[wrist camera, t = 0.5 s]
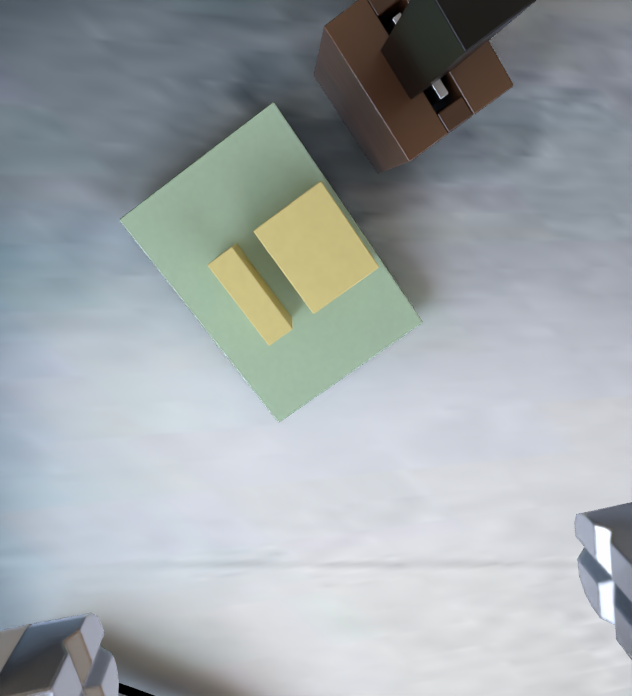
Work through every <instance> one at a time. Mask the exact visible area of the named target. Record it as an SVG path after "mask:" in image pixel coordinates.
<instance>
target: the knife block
mask: <svg viewBox="0 0 632 696" xmlns="http://www.w3.org/2000/svg"><path fill="white" fill-rule="evenodd" d="M409 1H410V0H358V1H356V2H355V3H354V4H352V5H351V6H350V7H348V8H347V9H346V10H345V11H343V12H342V13H341V14H339V15H338V16H337V17H336V18H334V19H333V20H332V21H330V22H329V23H328V24H326V25H325V26H324V29H323V34H322V39H321V43H320V48H319V53H318V57H317V62H316V67H315V71H314V77H315V78H316V80H317V81H318V83H319V84H320V86H321V87H322V89H323V91H324V92H325V94H326V95H327V97H328V98H329V100H330V101H331V103H332V104H333V106H334V107H335V109H336V110H337V112H338V114H339V115H340V117H341V118H342V120H343V121H344V123H345V124H346V126H347V127H348V129H349V130H350V132H351V134H352V135H353V137H354V138H355V140H356V141H357V143H358V144H359V146H360V147H361V149H362V150H363V152H364V153H365V155H366V157H367V158H368V160H369V161H370V163H371V164H372V166H373V167H374V169H375V170H376V172H377V173H378V174H379V173H382V172H384V171H387V170H389V169H392V168H395V167H397V166H400V165H402V164H405V163H408V162H410V161H412V160H413V159H414V158H416V157H417V156H418V155H420V154H421V153H423V152H424V151H425V150H427V149H428V148H429V147H431V146H432V145H434V144H435V143H436V142H438V141H439V140H440V139H442V138H443V137H445V136H446V135H447V134H448V133H450V132H451V131H453V130H454V129H455V128H457V127H458V126H459V125H461V124H462V123H464V122H465V121H466V120H468V119H469V118H470V117H472V115H474V114H476V113H477V112H479V111H480V110H481V109H483V108H484V107H486V106H487V105H488V104H490V103H491V102H492V101H494V100H495V99H496V98H498V97H499V96H501V95H502V94H503V93H505V92H506V91H507V90H509V89H510V88H512V87H513V83H512V81H511V80H510V78H509V76H508V74H507V73H506V71H505V69H504V67H503V66H502V64H501V62H500V60H499V59H498V57H497V55H496V53H495V51H494V50H493V48H492V46H491V44H490V43H489V41H487V42H486V43H485V44H483V45H482V46H481V47H480V48H479V49H477V50H476V51H475V52H474V53H473V54H471V55H470V56H469V57H468V58H467V59H465V60H464V61H463V62H462V63H461V64H459V65H458V66H457V67H455V68H454V69H453V70H451V71H450V72H449V73H447V74H446V75H444V76H443V77H442V78H440V80H441V81H442V83H443V85H444V86H445V88H446V90H447V91H448V95H446V96H445V97H443V98H442V99H441V100H439V101H438V102H437V103H435V104H434V105H432V106H431V104H430V102H429V101H428V99H427V97H426V96H425V94H424V92H422V93H420V94H419V95H418V96H416V97H415V98H414V99H410V98H409V96H408V95H407V93H406V91H405V90H404V88H403V86H402V85H401V83H400V82H399V80H398V78H397V77H396V75H395V73H394V72H393V70H392V69H391V67H390V65H389V64H388V62H387V60H386V59H385V57H384V56H383V54H382V52H381V48H382V47H383V45H384V43H385V42H386V40H387V38H388V37H389V35H388V33H387V31H386V29H387V27H388V25H389V23H390V22H391V20H392V18H393V17H394V16H396V15H397V14H398V13H401V14H402V13H403V11H404V10H405V8H406V6H407V5H408V3H409Z"/></svg>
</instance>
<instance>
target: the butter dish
mask: <svg viewBox="0 0 632 696" xmlns="http://www.w3.org/2000/svg"><path fill="white" fill-rule="evenodd" d="M320 181H321V182H322V183H323V184H324V186H325V187H326V189H327V190H328V192H329V193H330V195H331V196H332V198H333V199H334V200H335V202H336V203H337V205H338V206H339V208H340V209H341V211H342V212H343V214H344V215H345V217H346V218H347V220H348V221H349V223H350V224H351V225H352V227H353V228H354V230H355V231H356V233H357V234H358V236H359V237H360V239H361V240H362V242H363V243H364V245H365V246H366V248H367V249H368V250H369V252H370V253H371V255H372V256H373V258H374V259H375V261H376V262H377V264H378V265H379V268H378V269H376V270H375V271H374V272H372V273H371V274H369V275H368V276H367V277H365V278H364V279H362V280H361V281H360V282H358V283H357V284H355V285H354V286H353V287H351V288H350V289H348V290H347V291H346V292H344V293H343V294H341V295H340V296H339V297H337V298H336V299H334V300H333V301H332V302H330V303H329V304H327V305H326V306H325V307H323V308H322V309H320V310H319V311H318V312H316V313H315V314H313V313H312V312H311V310H310V309H309V307H308V306H307V305H306V303H305V302H304V301H303V299H302V298H301V296H300V295H299V294H298V292H297V291H296V290H295V288H294V287H293V285H292V284H291V283H290V281H289V280H288V279H287V277H286V276H285V275H284V273H283V272H282V270H281V269H280V268H279V266H278V265H277V264H276V262H275V261H274V259H273V258H272V257H271V255H270V254H269V253H268V251H267V250H266V248H265V247H264V246H263V244H262V243H261V242H260V240H259V239H258V237H257V236H256V235H255V233H254V230H255V229H256V228H257V227H259V226H260V225H262V224H263V223H264V222H266V221H267V220H268V219H270V218H271V217H272V216H274V215H275V214H276V213H278V212H279V211H280V210H282V209H283V208H284V207H286V206H287V205H289V204H290V203H291V202H293V201H294V200H295V199H297V198H298V197H299V196H301V195H302V194H303V193H305V192H306V191H307V190H309V189H310V188H312V187H313V186H314V185H316V184H317V183H318V182H320ZM120 222H121V223H122V224H123V226H124V227H125V228H126V230H127V231H128V232H129V233H130V235H131V236H132V237H133V238H134V240H135V241H136V242H137V244H138V245H139V246H140V247H141V249H142V250H143V251H144V252H145V254H146V255H147V256H148V257H149V259H150V260H151V261H152V263H153V264H154V265H155V266H156V268H157V269H158V270H159V271H160V273H161V274H162V275H163V277H164V278H165V279H166V280H167V282H168V283H169V284H170V285H171V287H172V288H173V289H174V291H175V292H176V293H177V294H178V296H179V297H180V298H181V299H182V301H183V302H184V303H185V304H186V306H187V307H188V308H189V310H190V311H191V312H192V313H193V315H194V316H195V317H196V318H197V320H198V321H199V322H200V324H201V325H202V326H203V327H204V329H205V330H206V331H207V332H208V334H209V335H210V336H211V337H212V339H213V340H214V341H215V343H216V344H217V345H218V346H219V348H220V349H221V350H222V351H223V353H224V354H225V355H226V357H227V358H228V359H229V360H230V362H231V363H232V364H233V365H234V367H235V368H236V369H237V371H238V372H239V373H240V374H241V376H242V377H243V378H244V379H245V381H246V382H247V383H248V384H249V386H250V387H251V388H252V390H253V391H254V392H255V393H256V395H257V396H258V397H259V398H260V400H261V401H262V402H263V404H264V405H265V406H266V407H267V409H268V410H269V411H270V412H271V414H272V415H273V416H274V418H275V419H276V420H277V421H278V422H281V421H282V420H284V419H285V418H286V417H288V416H289V415H291V414H292V413H294V412H295V411H296V410H298V409H299V408H301V407H302V406H304V405H305V404H307V403H308V402H309V401H311V400H312V399H314V398H315V397H317V396H318V395H319V394H321V393H322V392H324V391H325V390H327V389H328V388H330V387H331V386H332V385H334V384H335V383H337V382H338V381H340V380H341V379H342V378H344V377H345V376H347V375H348V374H350V373H351V372H353V371H354V370H355V369H357V368H358V367H360V366H361V365H363V364H364V363H365V362H367V361H368V360H370V359H371V358H373V357H374V356H376V355H377V354H378V353H380V352H381V351H383V350H384V349H386V348H387V347H388V346H390V345H391V344H393V343H394V342H396V341H397V340H398V339H400V338H401V337H403V336H404V335H406V334H407V333H409V332H410V331H411V330H413V329H414V328H416V327H417V326H419V325H420V324H421V323H423V321H422V320H421V318H420V317H419V315H418V314H417V312H416V311H415V310H414V308H413V307H412V305H411V304H410V302H409V301H408V299H407V298H406V296H405V295H404V293H403V292H402V290H401V289H400V287H399V286H398V284H397V283H396V281H395V280H394V278H393V277H392V276H391V274H390V273H389V271H388V270H387V268H386V267H385V265H384V264H383V262H382V261H381V259H380V258H379V256H378V255H377V253H376V252H375V250H374V249H373V247H372V246H371V245H370V243H369V242H368V240H367V239H366V237H365V236H364V234H363V233H362V231H361V230H360V228H359V227H358V225H357V224H356V222H355V221H354V219H353V218H352V216H351V215H350V213H349V212H348V211H347V209H346V208H345V206H344V205H343V203H342V202H341V200H340V199H339V197H338V196H337V194H336V193H335V191H334V190H333V188H332V187H331V185H330V184H329V182H328V181H327V180H326V178H325V177H324V175H323V174H322V172H321V171H320V169H319V168H318V166H317V165H316V163H315V162H314V160H313V159H312V157H311V156H310V154H309V153H308V151H307V150H306V148H305V147H304V146H303V144H302V143H301V141H300V140H299V138H298V137H297V135H296V134H295V132H294V131H293V129H292V128H291V126H290V125H289V123H288V122H287V120H286V119H285V117H284V116H283V115H282V113H281V112H280V110H279V109H278V107H277V106H276V104H275V103H274V102H273V103H271V104H270V105H269V106H267V107H266V108H265V109H263V110H262V111H261V112H260V113H258V114H257V115H256V116H254V117H253V118H252V119H250V120H249V121H248V122H246V123H245V124H244V125H242V126H241V127H240V128H239V129H237V130H236V131H235V132H233V133H232V134H231V135H229V136H228V137H227V138H225V139H224V140H223V141H222V142H220V143H219V144H218V145H216V146H215V147H214V148H212V149H211V150H210V151H208V152H207V153H206V154H205V155H203V156H202V157H201V158H199V159H198V160H197V161H195V162H194V163H193V164H191V165H190V166H189V167H187V168H186V169H185V170H184V171H182V172H181V173H180V174H178V175H177V176H176V177H174V178H173V179H172V180H170V181H169V182H168V183H167V184H165V185H164V186H163V187H161V188H160V189H159V190H157V191H156V192H155V193H153V194H152V195H151V196H149V197H148V198H147V199H146V200H144V201H143V202H142V203H140V204H139V205H138V206H136V207H135V208H134V209H132V210H131V211H130V212H129V213H127V214H126V215H125V216H123V217H122V218H121V219H120ZM235 244H238V245H239V247H240V248H241V249H242V251H243V252H244V253H245V255H246V256H247V257H248V259H249V260H250V262H251V263H252V264H253V266H254V267H255V268H256V270H257V271H258V272H259V274H260V275H261V276H262V278H263V279H264V280H265V282H266V283H267V285H268V286H269V287H270V289H271V290H272V291H273V293H274V294H275V295H276V297H277V298H278V299H279V301H280V302H281V303H282V305H283V306H284V307H285V309H286V310H287V312H288V313H289V314H290V316H291V317H292V325H293V329H292V330H291V331H290V332H288V333H287V334H285V335H284V336H283V337H281V338H280V339H278V340H277V341H276V342H274V343H273V344H271V345H270V346H269V345H268V344H267V343H266V342H265V340H264V339H263V338H262V336H261V335H260V334H259V332H258V331H257V330H256V329H255V327H254V326H253V325H252V323H251V322H250V321H249V319H248V318H247V317H246V315H245V314H244V313H243V311H242V310H241V309H240V308H239V306H238V305H237V304H236V302H235V301H234V300H233V298H232V297H231V296H230V294H229V293H228V292H227V290H226V289H225V288H224V287H223V285H222V284H221V283H220V281H219V280H218V279H217V277H216V276H215V275H214V273H213V272H212V271H211V269H210V268H209V267H208V264H209V263H210V262H211V261H213V260H214V259H216V258H217V257H218V256H220V255H221V254H222V253H224V252H225V251H226V250H228V249H229V248H230V247H232V246H233V245H235Z"/></svg>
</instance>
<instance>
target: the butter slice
mask: <svg viewBox="0 0 632 696" xmlns="http://www.w3.org/2000/svg"><path fill="white" fill-rule="evenodd" d="M208 267H209V268H210V269H211V271H212V272H213V273H214V275H215V276H216V277H217V279H218V280H219V281H220V283H221V284H222V285H223V287H224V288H225V289H226V290H227V292H228V293H229V294H230V296H231V297H232V298H233V300H234V301H235V302H236V304H237V305H238V306H239V308H240V309H241V310H242V311H243V313H244V314H245V315H246V317H247V318H248V319H249V321H250V322H251V323H252V325H253V326H254V327H255V329H256V330H257V331H258V332H259V334H260V335H261V336H262V338H263V339H264V340H265V342H266V343H267V344H268V345H269V346H270V345H271V344H273V343H274V342H276V341H277V340H278V339H280V338H281V337H283V336H284V335H285V334H287V333H288V332H290V331H291V330H292V329H293V325H292V317H291V316H290V314H289V313H288V312H287V310H286V309H285V307H284V306H283V305H282V303H281V302H280V301H279V299H278V298H277V297H276V295H275V294H274V293H273V291H272V290H271V289H270V287H269V286H268V285H267V283H266V282H265V280H264V279H263V278H262V276H261V275H260V274H259V272H258V271H257V270H256V268H255V267H254V266H253V264H252V263H251V262H250V260H249V259H248V257H247V256H246V255H245V253H244V252H243V251H242V249H241V248H240V247H239V245H238V244H235V245H233V246H232V247H230V248H229V249H228V250H226V251H225V252H224V253H222V254H221V255H220V256H218V257H217V258H216V259H214V260H213V261H211V262H210V263H209V264H208Z"/></svg>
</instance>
